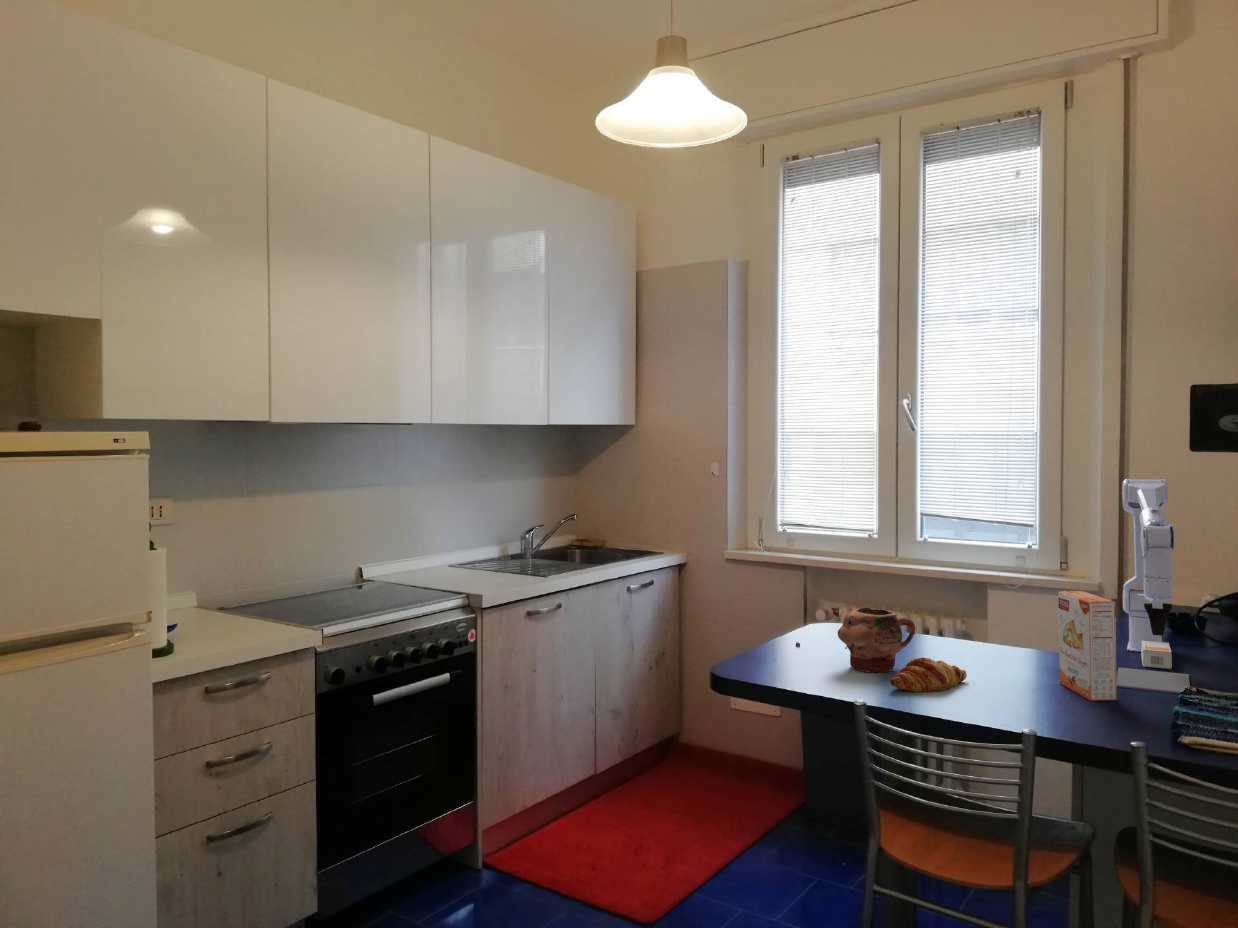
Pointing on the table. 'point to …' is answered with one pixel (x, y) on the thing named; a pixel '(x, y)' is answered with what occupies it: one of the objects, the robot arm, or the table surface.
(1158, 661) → the skincare box
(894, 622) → the brown sculpted mug
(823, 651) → the table surface
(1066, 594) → the cracker box
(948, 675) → the croissant
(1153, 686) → the rubber mat
